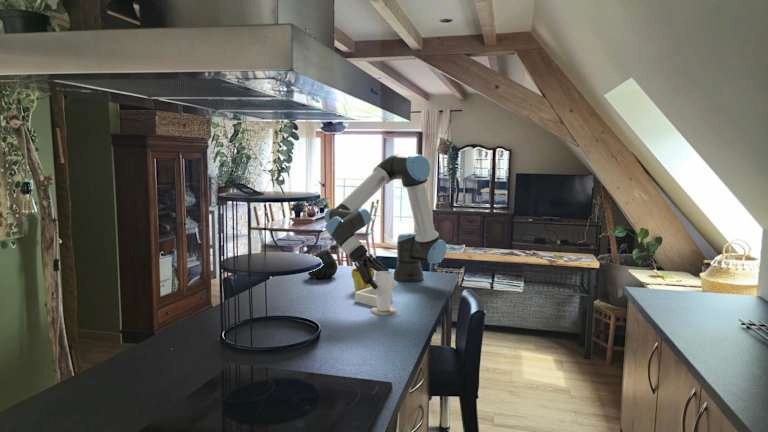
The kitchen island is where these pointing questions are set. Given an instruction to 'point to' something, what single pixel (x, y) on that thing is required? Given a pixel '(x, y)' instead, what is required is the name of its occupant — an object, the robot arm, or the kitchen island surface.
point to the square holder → (367, 296)
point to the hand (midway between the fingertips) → (389, 290)
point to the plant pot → (360, 280)
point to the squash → (325, 266)
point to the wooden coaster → (376, 311)
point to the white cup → (386, 283)
